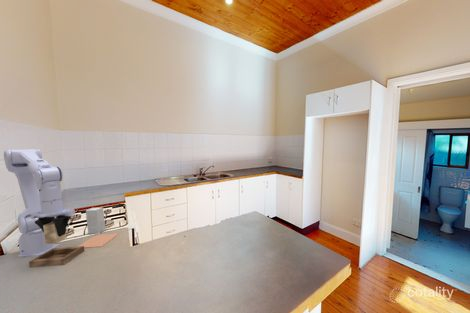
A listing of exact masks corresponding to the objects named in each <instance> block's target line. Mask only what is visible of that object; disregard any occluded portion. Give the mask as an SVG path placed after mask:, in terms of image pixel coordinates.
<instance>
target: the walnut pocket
mask: <svg viewBox="0 0 470 313" xmlns="http://www.w3.org/2000/svg"><path fill="white" fill-rule="evenodd" d="M78 246H79V245H78ZM78 246H69V247H54V248H52V249H50V250H49V251H47V252H45V253H43V254H41V255H37V257H35V258H33V259H31V260H30V261H28V264H29V265H28V266H29V268H39V267H52V266H53V267H54V266H65V265H67V264H68V263H69V262H71V261H73V260H74V259H75V258H77V257H78V256H79V255H81V254H82V253H84V252H85V248H84V246H79V247H78Z"/></svg>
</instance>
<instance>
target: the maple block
mask: <svg viewBox="0 0 470 313" xmlns="http://www.w3.org/2000/svg"><path fill="white" fill-rule="evenodd" d="M43 228H44V236H45V244H59V243H60V242H62V241H64V240H65V239H67V237H68V236H67V232H66V233H65V234H64V235H62V236H60V237H59V236H58V234H57V229H56V226H55V224H54V223H53V221H52V222H50V223H48V224H45V225H43Z"/></svg>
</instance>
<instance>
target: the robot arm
mask: <svg viewBox="0 0 470 313" xmlns="http://www.w3.org/2000/svg"><path fill="white" fill-rule="evenodd" d="M3 160H4V164H5V168H6V169H7V171H8V172H9V173H12V174H15V177H16V179H17V182H18V186H19V189H20V193H21V197H22V200H23V204H24V206H25V209H24V210H23V211H22V212H21V213H19V215H18V217H17V226H18V231H19V232H20V236H19V237H18V247H19V255H17V257H31V256H40V255H42V254H44V253H46V252H48V251H49V250H51V249H54V248H57V247H58V246H60V243H54V244H45V236H44V228H43V225H45V224H48V223H50V222H52V221H53V223H54V224H55V226H56V229H57V234H58V236H59V237H60V236H62V235H64V234H65V233H66V234H67V228H68V225H69V221H70V219H71V217H72V216H75V215H76V210H75V209H73V208H71V209H70V208H64V202H63V194H62V187H61V182H62V181H63V176H64V175H63V171H62V168H61V167H60V166H59V165H57V166H52V165H51V163H50V162H48V161H47V160H45V159H44V158H43V153H42V151H41V150H40V149H39V148H32V149H31V148H29V149H26V148H25V149H9V148H7V149H5V151H3Z"/></svg>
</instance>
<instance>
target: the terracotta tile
mask: <svg viewBox="0 0 470 313" xmlns="http://www.w3.org/2000/svg"><path fill="white" fill-rule="evenodd" d="M119 234H120V233H109V234H94V236H92V237H90V238H89V239H88V240H86V241H84V242H82V243H81V244H79V245H78V246H77V247H79V246H84V249H93V248H102V247H104V246H105V245H107V244H108V243H109V242H111V241H112V240H113V239H114V238H116V237H117V236H119Z"/></svg>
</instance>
